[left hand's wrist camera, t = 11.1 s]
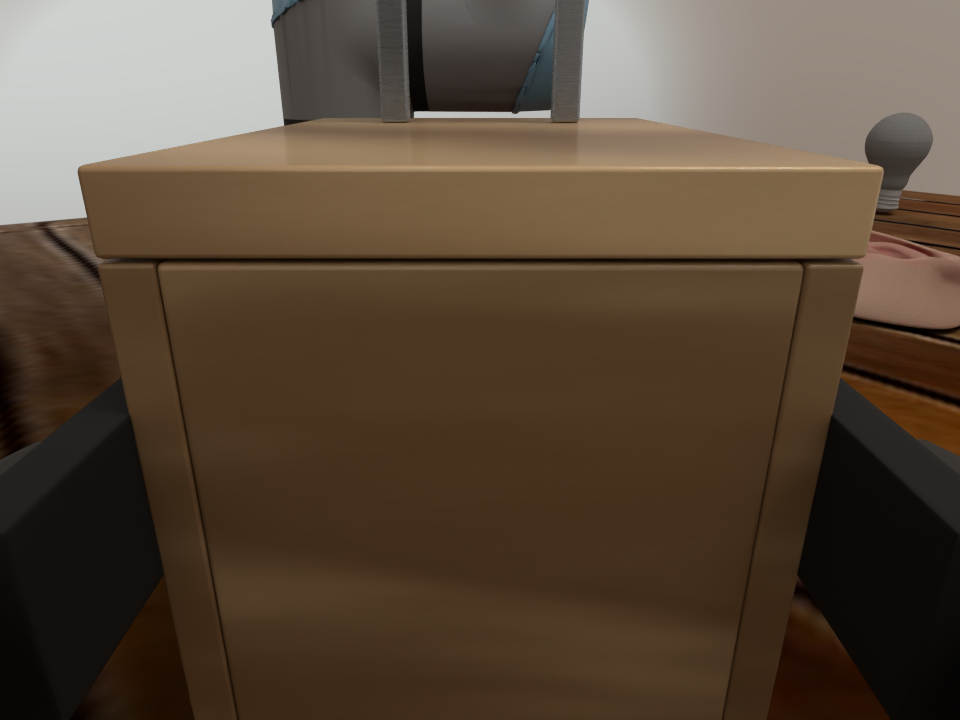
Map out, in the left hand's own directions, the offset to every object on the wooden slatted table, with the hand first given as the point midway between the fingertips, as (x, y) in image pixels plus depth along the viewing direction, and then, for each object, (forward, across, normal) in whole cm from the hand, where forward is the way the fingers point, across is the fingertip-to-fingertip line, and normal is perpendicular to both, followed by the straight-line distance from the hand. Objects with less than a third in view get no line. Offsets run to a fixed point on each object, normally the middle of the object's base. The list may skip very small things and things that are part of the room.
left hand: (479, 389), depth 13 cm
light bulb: (+62, +44, -7) cm, 76 cm away
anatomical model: (+30, +25, -7) cm, 40 cm away
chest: (+3, 0, -7) cm, 8 cm away
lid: (+3, 0, +3) cm, 5 cm away
